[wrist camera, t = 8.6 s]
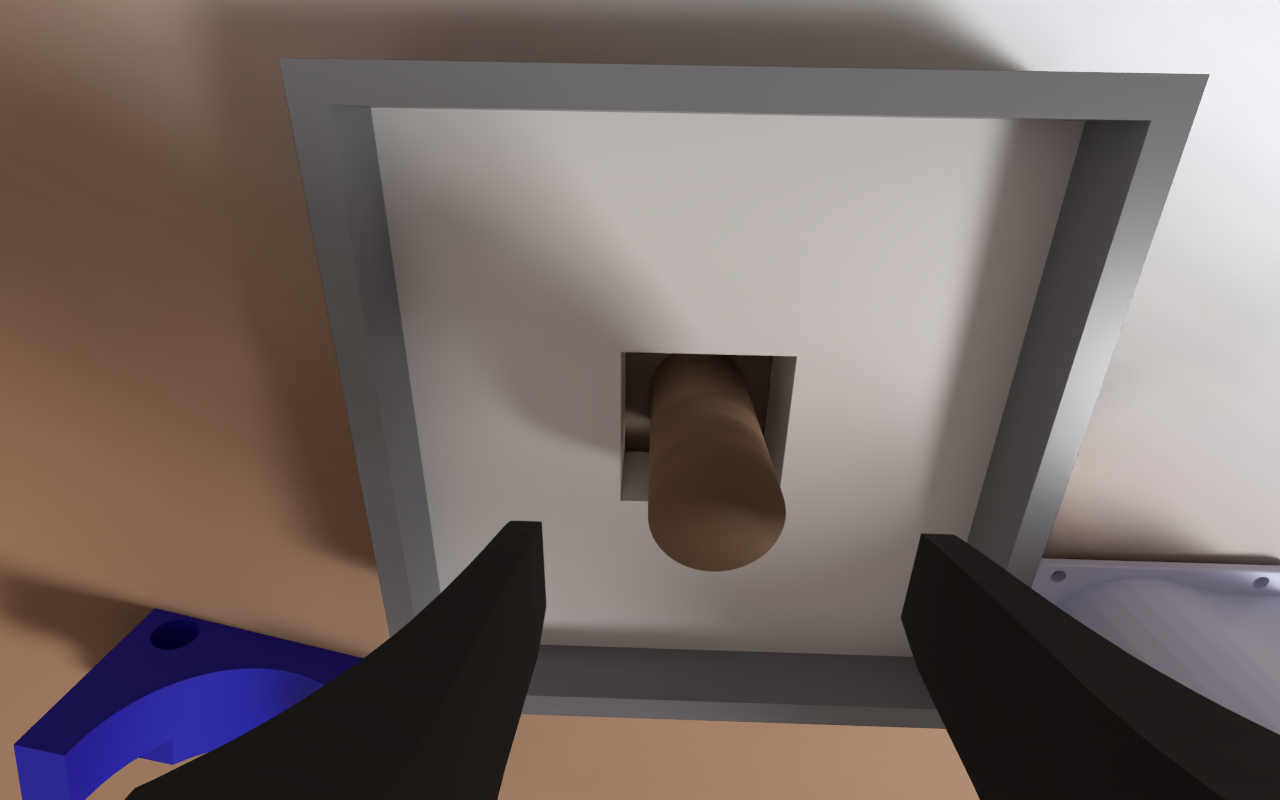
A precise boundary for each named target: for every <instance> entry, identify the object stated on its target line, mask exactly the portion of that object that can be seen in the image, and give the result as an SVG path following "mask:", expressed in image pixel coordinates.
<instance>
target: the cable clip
mask: <svg viewBox="0 0 1280 800" xmlns="http://www.w3.org/2000/svg"><path fill="white" fill-rule="evenodd" d="M362 659H364V658H359V657H355V656H351V655H347V654H343V653H339V652H334V651H330V650H326V649H322V648H318V647H314V646H309V645H305V644H301V643H297V642H293V641H289V640H284V639H280V638H276V637H272V636H268V635H264V634H260V633H255V632H251V631H247V630H243V629H239V628H235V627H230V626H226V625H222V624H218V623H214V622H210V621H205V620H201V619H197V618H193V617H189V616H185V615H181V614H176V613H172V612H168V611H164V610H160V609H156V608H155V609H154V610H153V611H152V612H151V613H150V614H149V615H148V616H147V617H146V618H145V619H144V620H142V621H141V622H140V623H139V624H138V625H137V626H136V627H135V628H134V629H133V630H132V631H131V632H130V633H129V634H128V635H127V636H126V637H125V638H124V639H123V640H122V641H121V642H120V643H119V644H118V645H117V646H116V647H114V648H113V649H112V650H111V651H110V652H109V653H108V654H107V655H106V656H105V657H104V658H103V659H102V660H101V661H100V662H99V663H98V664H97V665H96V666H95V667H94V668H93V669H92V670H91V671H90V672H89V673H87V674H86V675H85V676H84V677H83V678H82V679H81V680H80V681H79V682H78V683H77V684H76V685H75V686H74V687H73V688H72V689H71V690H70V691H69V692H68V693H67V694H66V695H65V696H64V697H63V698H62V699H60V700H59V701H58V702H57V703H56V704H55V705H54V706H53V707H52V708H51V709H50V710H49V711H48V712H47V713H46V714H45V715H44V716H43V717H42V718H41V719H40V720H39V721H38V722H37V723H36V724H35V725H34V726H32V727H31V728H30V729H29V730H28V731H27V732H26V733H25V734H24V735H23V736H22V737H21V738H20V739H19V740H18V741H17V742H16V743H15V744H14V750H15V756H16V763H17V769H18V775H19V781H20V788H21V794H22V800H85V799H86V798H87V797H88V796H89V795H90V794H91V793H93V792H94V791H95V790H96V789H97V788H98V787H99V786H100V785H101V784H103V783H104V782H105V781H106V780H107V779H109V778H110V777H111V776H112V775H113V774H115V773H116V772H118V771H119V770H120V769H122V768H123V767H125V766H126V765H127V764H129V763H130V762H132V761H133V760H135V759H137V758H138V757H139V758H144V759H148V760H153V761H157V762H162V763H167V764H171V765H174V764H176V763H178V762H181V761H184V760H186V759H189V758H191V757H194V756H197V755H200V754H204V753H207V752H211V751H213V750H215V749H217V748H219V747H220V746H222V745H224V744H226V743H228V742H230V741H232V740H234V739H235V738H237V737H239V736H241V735H243V734H244V733H246V732H248V731H250V730H252V729H253V728H255V727H257V726H259V725H261V724H262V723H264V722H266V721H268V720H269V719H271V718H273V717H274V716H276V715H278V714H280V713H281V712H283V711H285V710H286V709H288V708H290V707H291V706H293V705H295V704H296V703H298V702H300V701H301V700H303V699H304V698H306V697H307V696H309V695H310V694H312V693H313V692H315V691H316V690H318V689H319V688H321V687H322V686H324V685H325V684H327V683H328V682H330V681H331V680H333V679H334V678H336V677H337V676H339V675H340V674H342V673H343V672H345V671H346V670H348V669H349V668H351V667H352V666H354V665H355V664H357V663H358V662H359V661H361V660H362Z"/></svg>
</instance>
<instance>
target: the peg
mask: <svg viewBox="0 0 1280 800" xmlns="http://www.w3.org/2000/svg"><path fill="white" fill-rule="evenodd" d="M785 519H786V506H785V501H784V497H783V494H782V491H781V488H780V485H779V482H778V479H777V476H776V473H775V470H774V467H773V464H772V461H771V458H770V455H769V452H768V449H767V446H766V443H765V440H764V437H763V434H762V431H761V428H760V425H759V422H758V419H757V416H756V413H755V410H754V408H753V405H752V402H751V399H750V396H749V393H748V390H747V387H746V384H745V381H744V378H743V375H742V373H741V370H740V368H739V367H738V365H737V364H736V363H735V362H734V360H733V359H731V358H730V357H729V356H728V355H723V354H683V353H673V354H672V355H670V356H669V357H668V358H666V359H665V360H664V361H663V362H662V363H661V365H660V366H659V367H658V369H657V371H656V372H655V375H654V377H653V381H652V386H651V416H650V453H649V490H648V523H649V528H650V531H651V534H652V537H653V538H654V540H655V542H656V543H657V545H658V546H659V547H660V549H661V550H662V551H663V552H664V553H665V554H666V555H668V556H669V557H670V558H671V559H673V560H674V561H676V562H678V563H680V564H682V565H684V566H686V567H689V568H693V569H696V570H701V571H710V572H719V571H728V570H733V569H737V568H740V567H743V566H746V565H748V564H750V563H752V562H754V561H756V560H757V559H759V558H761V557H762V556H763V555H764V554H766V553H767V552H768V551H769V550H770V549H771V548H772V547H773V545H774V544H775V543H776V541H777V540H778V538H779V537H780V535H781V533H782V530H783V527H784V524H785Z"/></svg>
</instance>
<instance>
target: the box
mask: <svg viewBox="0 0 1280 800" xmlns="http://www.w3.org/2000/svg"><path fill="white" fill-rule="evenodd" d="M279 63H280V68H281V73H282V78H283V84H284V89H285V94H286V99H287V104H288V110H289V115H290V120H291V125H292V130H293V135H294V141H295V146H296V151H297V156H298V161H299V167H300V172H301V177H302V182H303V187H304V193H305V198H306V203H307V208H308V213H309V218H310V224H311V229H312V234H313V239H314V244H315V250H316V255H317V260H318V265H319V270H320V275H321V281H322V286H323V291H324V296H325V301H326V307H327V312H328V317H329V322H330V327H331V332H332V338H333V343H334V348H335V353H336V358H337V364H338V369H339V374H340V379H341V384H342V389H343V395H344V400H345V405H346V410H347V415H348V421H349V426H350V431H351V436H352V441H353V446H354V452H355V457H356V462H357V467H358V472H359V478H360V483H361V488H362V493H363V498H364V503H365V509H366V514H367V519H368V524H369V529H370V535H371V540H372V545H373V550H374V555H375V560H376V566H377V571H378V576H379V581H380V586H381V592H382V597H383V602H384V607H385V612H386V618H387V623H388V628H389V633H390V638H391V637H392V636H393V635H394V634H395V633H397V632H398V631H399V630H400V629H401V628H403V627H404V626H405V625H406V624H407V623H408V622H410V621H411V620H412V619H413V618H414V617H415V616H416V615H417V614H418V613H419V612H421V611H422V610H423V609H424V608H425V607H426V606H427V605H428V604H429V603H430V602H431V601H433V600H434V599H435V598H436V597H437V596H438V595H439V594H440V593H441V592H442V591H443V590H444V589H445V588H446V587H447V586H448V585H449V584H450V583H451V582H452V581H453V580H454V579H455V578H456V577H457V576H458V575H459V574H460V573H461V572H462V571H463V570H464V569H465V568H466V567H467V566H468V565H469V564H470V563H471V562H472V561H473V560H474V559H475V558H476V556H477V555H478V554H479V553H480V552H481V551H482V550H483V549H484V548H485V547H486V546H487V545H488V543H489V542H490V541H491V540H492V539H493V538H494V537H495V536H496V535H497V533H498V532H499V531H500V530H501V529H502V528H503V527H504V526H505V525H506V524H507V523H508V522H509V521H541V522H542V534H543V552H544V570H545V588H546V611H545V618H544V624H543V630H542V636H541V642H540V647H539V653H538V657H537V661H536V664H535V668H534V671H533V675H532V678H531V682H530V685H529V689H528V692H527V696H526V699H525V702H524V706H523V709H522V713H521V714H535V715H563V716H592V717H621V718H650V719H679V720H708V721H737V722H766V723H795V724H824V725H853V726H882V727H910V728H939V729H946V728H945V726H944V724H943V722H942V719H941V717H940V715H939V713H938V711H937V709H936V707H935V705H934V703H933V701H932V699H931V697H930V694H929V692H928V690H927V688H926V686H925V684H924V682H923V680H922V677H921V675H920V673H919V671H918V669H917V666H916V663H915V660H914V657H913V654H912V652H911V649H910V646H909V643H908V639H907V636H906V633H905V630H904V627H903V623H902V620H901V614H902V610H903V606H904V602H905V597H906V593H907V589H908V585H909V581H910V577H911V573H912V569H913V564H914V560H915V556H916V552H917V548H918V544H919V540H920V536H921V533H925V534H954V535H956V536H957V537H959V538H960V539H962V540H964V541H965V542H967V543H968V544H970V545H971V546H973V547H974V548H975V549H977V550H978V551H980V552H981V553H983V554H984V555H985V556H987V557H988V558H990V559H991V560H992V561H994V562H995V563H997V564H998V565H999V566H1001V567H1002V568H1004V569H1005V570H1006V571H1008V572H1009V573H1011V574H1012V575H1013V576H1015V577H1016V578H1018V579H1019V580H1020V581H1022V582H1023V583H1025V584H1026V585H1027V586H1029V587H1030V588H1032V585H1033V582H1034V579H1035V576H1036V573H1037V570H1038V568H1039V565H1040V562H1041V559H1042V556H1043V553H1044V550H1045V547H1046V545H1047V542H1048V539H1049V536H1050V533H1051V530H1052V527H1053V524H1054V521H1055V519H1056V516H1057V513H1058V510H1059V507H1060V504H1061V501H1062V498H1063V496H1064V493H1065V490H1066V487H1067V484H1068V481H1069V478H1070V475H1071V472H1072V470H1073V467H1074V464H1075V461H1076V458H1077V455H1078V452H1079V449H1080V447H1081V444H1082V441H1083V438H1084V435H1085V432H1086V429H1087V426H1088V423H1089V421H1090V418H1091V415H1092V412H1093V409H1094V406H1095V403H1096V400H1097V398H1098V395H1099V392H1100V389H1101V386H1102V383H1103V380H1104V377H1105V374H1106V372H1107V369H1108V366H1109V363H1110V360H1111V357H1112V354H1113V351H1114V349H1115V346H1116V343H1117V340H1118V337H1119V334H1120V331H1121V328H1122V325H1123V323H1124V320H1125V317H1126V314H1127V311H1128V308H1129V305H1130V302H1131V300H1132V297H1133V294H1134V291H1135V288H1136V285H1137V282H1138V279H1139V276H1140V274H1141V271H1142V268H1143V265H1144V262H1145V259H1146V256H1147V253H1148V251H1149V248H1150V245H1151V242H1152V239H1153V236H1154V233H1155V230H1156V227H1157V225H1158V222H1159V219H1160V216H1161V213H1162V210H1163V207H1164V204H1165V202H1166V199H1167V196H1168V193H1169V190H1170V187H1171V184H1172V181H1173V178H1174V176H1175V173H1176V170H1177V167H1178V164H1179V161H1180V158H1181V155H1182V153H1183V150H1184V147H1185V144H1186V141H1187V138H1188V135H1189V132H1190V129H1191V127H1192V124H1193V121H1194V118H1195V115H1196V112H1197V109H1198V106H1199V104H1200V101H1201V98H1202V95H1203V92H1204V89H1205V86H1206V83H1207V81H1208V78H1209V75H1210V74H1161V73H1104V72H1047V71H990V70H934V69H877V68H820V67H763V66H706V65H649V64H593V63H536V62H479V61H422V60H365V59H308V58H279ZM626 352H643V353H683V354H723V355H762V356H773V362H772V371H771V380H770V389H769V398H768V407H767V416H766V425H765V434H764V440H765V443H766V446H767V449H768V452H769V455H770V458H771V461H772V464H773V467H774V470H775V473H776V476H777V479H778V482H779V485H780V488H781V491H782V494H783V497H784V501H785V506H786V519H785V524H784V527H783V530H782V533H781V535H780V537H779V538H778V540H777V541H776V543H775V544H774V545H773V547H772V548H771V549H770V550H769V551H768V552H767V553H766V554H764V555H763V556H762V557H761V558H759V559H757V560H756V561H754V562H752V563H750V564H748V565H746V566H743V567H740V568H737V569H733V570H728V571H719V572H710V571H701V570H696V569H693V568H689V567H686V566H684V565H682V564H680V563H678V562H676V561H674V560H673V559H671V558H670V557H669V556H668V555H666V554H665V553H664V552H663V551H662V550H661V549H660V547H659V546H658V545H657V543H656V542H655V540H654V538H653V537H652V534H651V531H650V528H649V523H648V490H649V453H650V452H633V451H625V408H626Z"/></svg>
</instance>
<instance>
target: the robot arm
mask: <svg viewBox="0 0 1280 800" xmlns="http://www.w3.org/2000/svg"><path fill="white" fill-rule="evenodd" d="M1056 571H1058V572H1057V573H1056V574H1054V575H1052V574H1053V573H1054V572H1056ZM545 611H546V588H545V570H544V552H543V534H542V522H541V521H509V522H508V523H507V524H506V525H505V526H504V527H503V528H502V529H501V530H500V531H499V532H498V533H497V535H496V536H495V537H494V538H493V539H492V540H491V541H490V542H489V543H488V545H487V546H486V547H485V548H484V549H483V550H482V551H481V552H480V553H479V554H478V555H477V556H476V558H475V559H474V560H473V561H472V562H471V563H470V564H469V565H468V566H467V567H466V568H465V569H464V570H463V571H462V572H461V573H460V574H459V575H458V576H457V577H456V578H455V579H454V580H453V581H452V582H451V583H450V584H449V585H448V586H447V587H446V588H445V589H444V590H443V591H442V592H441V593H440V594H439V595H438V596H437V597H436V598H435V599H434V600H433V601H431V602H430V603H429V604H428V605H427V606H426V607H425V608H424V609H423V610H422V611H421V612H419V613H418V614H417V615H416V616H415V617H414V618H413V619H412V620H411V621H410V622H408V623H407V624H406V625H405V626H404V627H403V628H401V629H400V630H399V631H398V632H397V633H395V634H394V635H393V636H392V637H391V638H389V639H388V640H387V641H386V642H384V643H383V644H382V645H381V646H379V647H378V648H377V649H375V650H374V651H373V652H371V653H370V654H369V655H368V656H366V657H365V658H364V659H362V660H361V661H359V662H358V663H357V664H355V665H354V666H352V667H351V668H349V669H348V670H346V671H345V672H343V673H342V674H340V675H339V676H337V677H336V678H334V679H333V680H331V681H330V682H328V683H327V684H325V685H324V686H322V687H321V688H319V689H318V690H316V691H315V692H313V693H312V694H310V695H309V696H307V697H306V698H304V699H303V700H301V701H300V702H298V703H296V704H295V705H293V706H291V707H290V708H288V709H286V710H285V711H283V712H281V713H280V714H278V715H276V716H274V717H273V718H271V719H269V720H268V721H266V722H264V723H262V724H261V725H259V726H257V727H255V728H253V729H252V730H250V731H248V732H246V733H244V734H243V735H241V736H239V737H237V738H235V739H234V740H232V741H230V742H228V743H226V744H224V745H222V746H220V747H219V748H217V749H215V750H213V751H211V752H208V753H206V754H204V755H202V756H200V757H198V758H196V759H194V760H192V761H190V762H188V763H186V764H184V765H182V766H180V767H178V768H176V769H174V770H172V771H170V772H168V773H166V774H164V775H162V776H160V777H158V778H156V779H154V780H152V781H150V782H147V783H145V784H143V785H141V786H139V787H137V788H134V790H133V791H132V792H131V793H130V794H129V795H128V796H127V798H126V799H125V800H497V799H498V795H499V791H500V787H501V783H502V779H503V775H504V771H505V767H506V764H507V760H508V757H509V753H510V750H511V747H512V743H513V740H514V736H515V733H516V730H517V726H518V723H519V719H520V716H521V713H522V709H523V706H524V702H525V699H526V696H527V692H528V689H529V685H530V682H531V678H532V675H533V671H534V668H535V664H536V661H537V657H538V653H539V647H540V642H541V636H542V630H543V624H544V618H545ZM901 620H902V623H903V627H904V630H905V633H906V636H907V639H908V643H909V646H910V649H911V652H912V654H913V657H914V660H915V663H916V666H917V669H918V671H919V673H920V675H921V677H922V680H923V682H924V684H925V686H926V688H927V690H928V692H929V694H930V697H931V699H932V701H933V703H934V705H935V707H936V709H937V711H938V713H939V715H940V717H941V719H942V722H943V724H944V726H945V728H946V730H947V732H948V734H949V736H950V738H951V740H952V742H953V744H954V746H955V748H956V750H957V752H958V754H959V756H960V759H961V761H962V763H963V765H964V767H965V769H966V771H967V773H968V775H969V777H970V779H971V781H972V783H973V785H974V787H975V790H976V792H977V794H978V796H979V799H980V800H1280V566H1278V565H1245V564H1212V563H1179V562H1145V561H1112V560H1079V559H1046V558H1042V559H1041V562H1040V565H1039V568H1038V570H1037V573H1036V576H1035V579H1034V582H1033V585H1032V588H1030V587H1029V586H1027V585H1026V584H1025V583H1023V582H1022V581H1020V580H1019V579H1018V578H1016V577H1015V576H1013V575H1012V574H1011V573H1009V572H1008V571H1006V570H1005V569H1004V568H1002V567H1001V566H999V565H998V564H997V563H995V562H994V561H992V560H991V559H990V558H988V557H987V556H985V555H984V554H983V553H981V552H980V551H978V550H977V549H975V548H974V547H973V546H971V545H970V544H968V543H967V542H965V541H964V540H962V539H960V538H959V537H957V536H956V535H954V534H925V533H921V536H920V540H919V544H918V548H917V552H916V556H915V560H914V564H913V569H912V573H911V577H910V581H909V585H908V589H907V593H906V597H905V602H904V606H903V610H902V614H901Z"/></svg>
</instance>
